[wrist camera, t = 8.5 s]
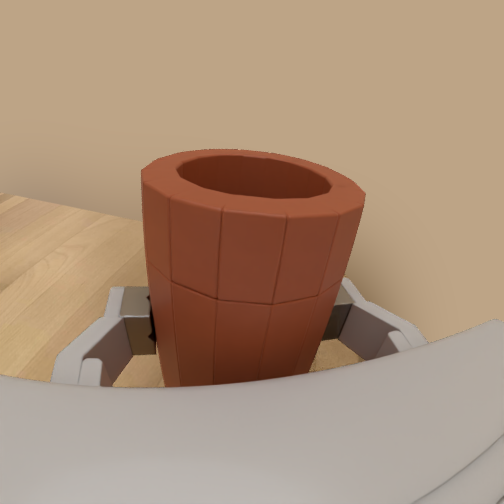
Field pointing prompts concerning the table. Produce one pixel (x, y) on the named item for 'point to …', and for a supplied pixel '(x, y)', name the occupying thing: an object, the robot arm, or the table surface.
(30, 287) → the table surface
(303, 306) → the jar
